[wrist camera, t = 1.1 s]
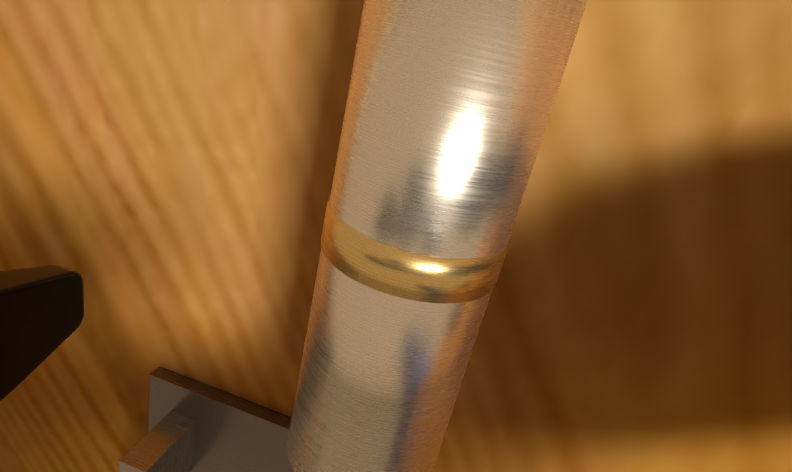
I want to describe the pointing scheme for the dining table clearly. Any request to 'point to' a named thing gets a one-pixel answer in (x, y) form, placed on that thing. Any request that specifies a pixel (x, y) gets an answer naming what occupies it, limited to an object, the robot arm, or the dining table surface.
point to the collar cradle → (207, 431)
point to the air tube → (420, 220)
